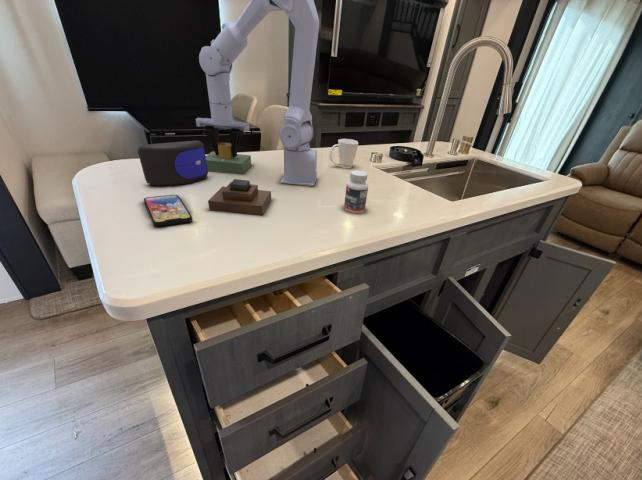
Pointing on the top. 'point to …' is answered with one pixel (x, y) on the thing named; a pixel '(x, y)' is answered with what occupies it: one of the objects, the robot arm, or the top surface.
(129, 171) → the top surface
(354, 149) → the cup
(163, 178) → the leaning round-cornered charcoal block
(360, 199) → the pill bottle
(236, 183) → the switch button
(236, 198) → the switch plate
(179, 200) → the smartphone
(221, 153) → the dimmer knob
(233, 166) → the green flat block
